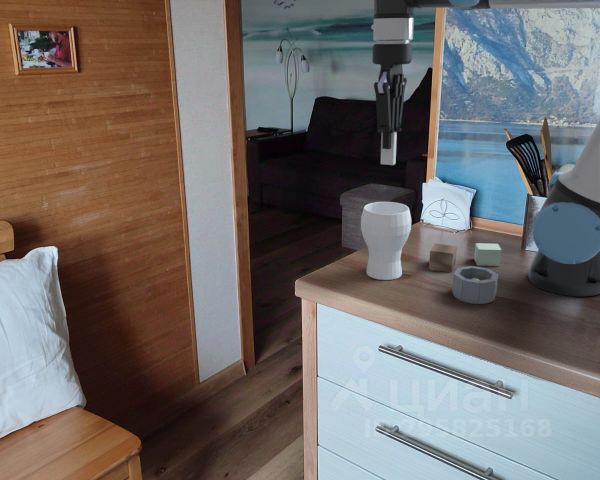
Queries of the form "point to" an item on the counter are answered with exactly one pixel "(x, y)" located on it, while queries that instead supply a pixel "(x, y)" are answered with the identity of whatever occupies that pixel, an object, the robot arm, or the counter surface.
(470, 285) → the ramekin
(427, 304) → the counter surface
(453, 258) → the walnut box
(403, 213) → the cup
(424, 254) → the counter surface
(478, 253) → the sage block
